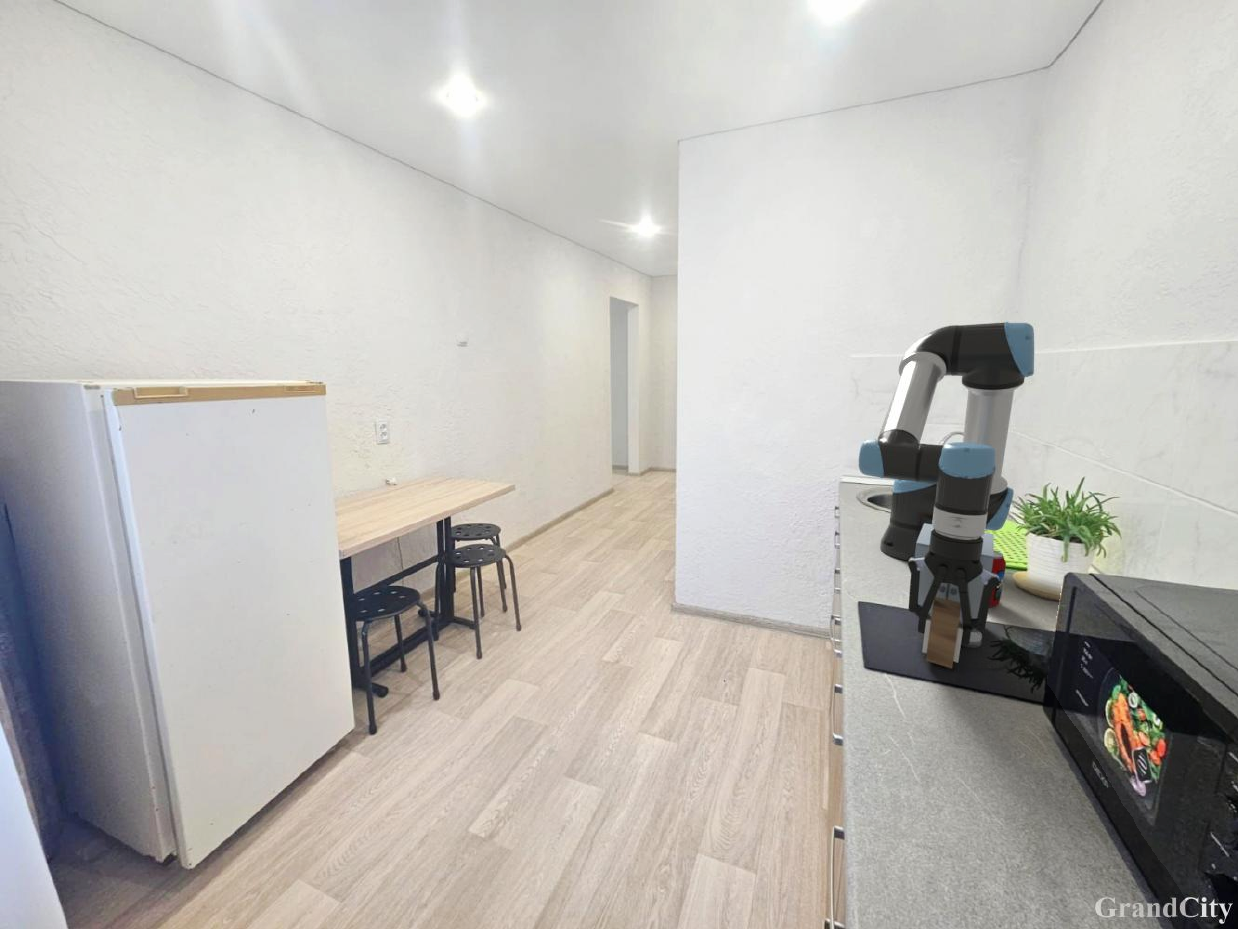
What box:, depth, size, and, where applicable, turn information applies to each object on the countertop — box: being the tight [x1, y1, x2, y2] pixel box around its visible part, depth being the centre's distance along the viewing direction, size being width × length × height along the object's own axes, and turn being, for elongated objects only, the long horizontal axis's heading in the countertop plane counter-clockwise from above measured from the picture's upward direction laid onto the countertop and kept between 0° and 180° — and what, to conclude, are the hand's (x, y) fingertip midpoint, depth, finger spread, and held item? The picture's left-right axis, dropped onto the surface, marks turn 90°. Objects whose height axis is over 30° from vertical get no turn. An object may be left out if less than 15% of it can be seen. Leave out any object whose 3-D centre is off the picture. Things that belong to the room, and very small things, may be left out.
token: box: [961, 629, 983, 649], centre depth 96 cm, size 5×5×2 cm
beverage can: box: [989, 549, 1007, 608], centre depth 110 cm, size 7×7×12 cm
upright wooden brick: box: [925, 597, 961, 669], centre depth 93 cm, size 17×4×11 cm, turn 143°
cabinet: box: [915, 523, 995, 623], centre depth 98 cm, size 15×12×20 cm
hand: (940, 653), depth 89 cm, fingers closed on upright wooden brick, 4 cm apart
